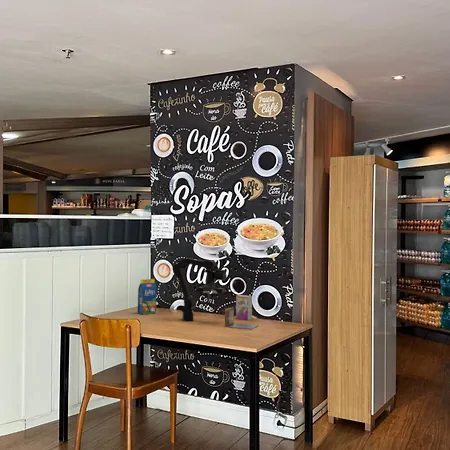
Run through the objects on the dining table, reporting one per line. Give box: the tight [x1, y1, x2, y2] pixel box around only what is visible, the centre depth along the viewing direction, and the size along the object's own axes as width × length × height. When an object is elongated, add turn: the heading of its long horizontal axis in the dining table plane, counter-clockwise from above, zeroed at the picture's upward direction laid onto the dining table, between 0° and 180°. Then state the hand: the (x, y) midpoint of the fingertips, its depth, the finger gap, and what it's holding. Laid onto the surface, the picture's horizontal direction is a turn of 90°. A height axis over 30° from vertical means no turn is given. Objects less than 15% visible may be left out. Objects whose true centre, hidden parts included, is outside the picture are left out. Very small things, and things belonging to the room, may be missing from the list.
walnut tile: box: [224, 307, 235, 328], centre depth 369 cm, size 3×10×11 cm, turn 159°
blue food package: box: [137, 278, 158, 315], centre depth 416 cm, size 6×12×25 cm, turn 130°
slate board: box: [228, 323, 260, 330], centre depth 365 cm, size 15×16×1 cm
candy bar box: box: [235, 294, 253, 321], centre depth 398 cm, size 11×5×16 cm, turn 47°
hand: (210, 303), depth 380 cm, fingers closed
